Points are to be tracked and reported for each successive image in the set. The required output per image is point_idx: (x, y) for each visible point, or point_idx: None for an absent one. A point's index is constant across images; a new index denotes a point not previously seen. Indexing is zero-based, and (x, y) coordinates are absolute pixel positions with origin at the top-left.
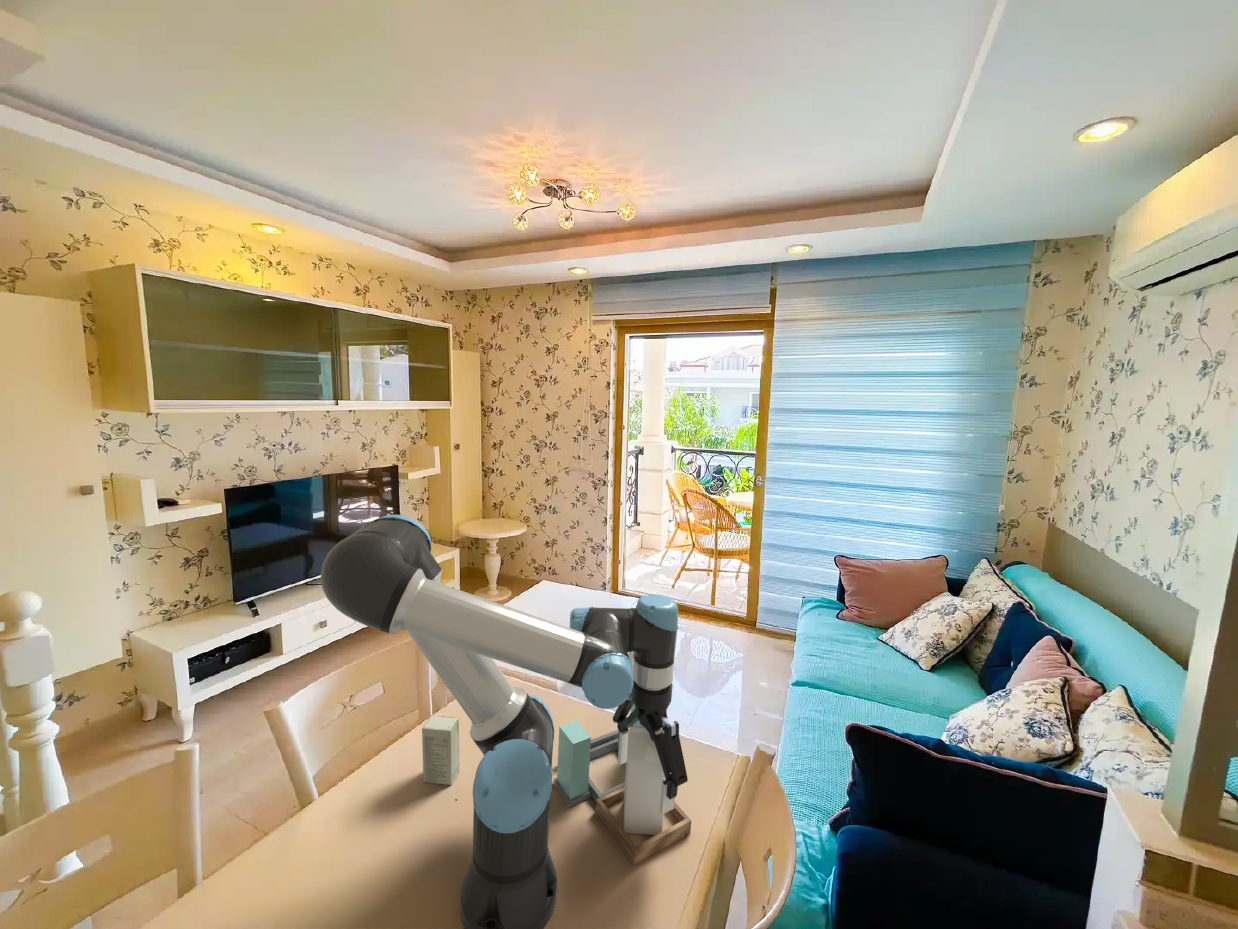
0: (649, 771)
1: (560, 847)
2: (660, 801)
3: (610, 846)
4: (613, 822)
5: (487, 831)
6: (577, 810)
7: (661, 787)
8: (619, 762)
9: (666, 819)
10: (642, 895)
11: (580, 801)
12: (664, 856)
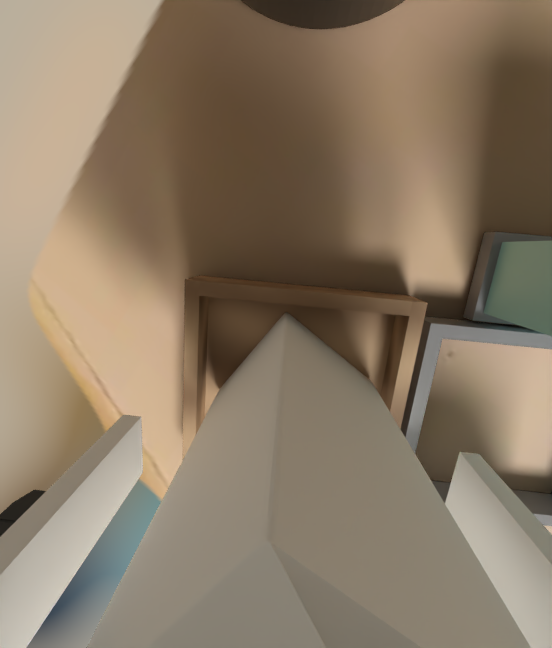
0: (160, 560)
1: (376, 116)
2: (109, 449)
3: (283, 258)
4: (312, 292)
5: None
6: (453, 249)
7: (49, 518)
8: (470, 460)
9: None
10: (119, 238)
11: (473, 276)
12: (177, 359)
